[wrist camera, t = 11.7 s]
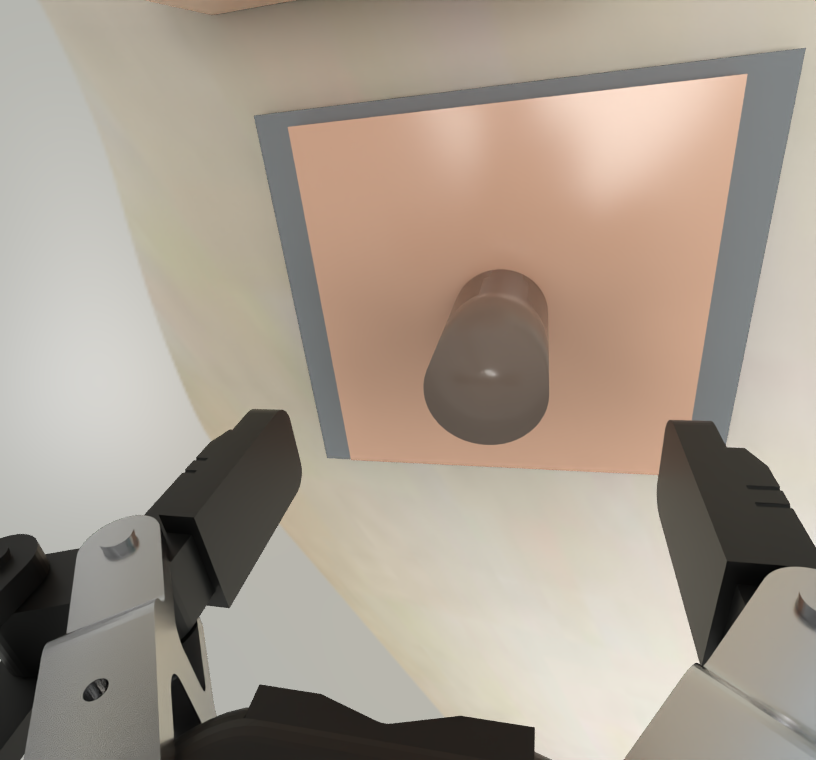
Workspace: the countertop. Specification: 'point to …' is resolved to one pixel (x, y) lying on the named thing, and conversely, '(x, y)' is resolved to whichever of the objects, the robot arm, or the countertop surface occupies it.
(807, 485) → the countertop surface
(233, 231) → the countertop surface
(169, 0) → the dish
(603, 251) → the lid
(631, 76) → the mat
